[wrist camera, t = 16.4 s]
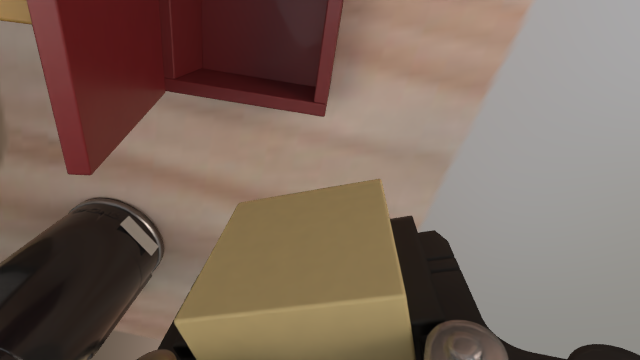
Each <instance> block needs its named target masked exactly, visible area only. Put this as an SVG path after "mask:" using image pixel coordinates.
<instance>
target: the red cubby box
mask: <svg viewBox="0 0 640 360" xmlns="http://www.w3.org/2000/svg"><path fill="white" fill-rule="evenodd" d="M342 7H343V0H159V12H160V26H161V39H162V53H163V67H164V81H165V91H169V92H175V93H181V94H188V95H194V96H200V97H206V98H212V99H218V100H224V101H230V102H237V103H243V104H249V105H255V106H261V107H267V108H273V109H279V110H285V111H292V112H298V113H304V114H310V115H316V116H322V117H324V116H325V111H326V106H327V101H328V95H329V89H330V82H331V76H332V70H333V63H334V57H335V51H336V45H337V38H338V32H339V26H340V19H341V13H342Z"/></svg>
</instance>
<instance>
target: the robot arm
mask: <svg viewBox="0 0 640 360" xmlns="http://www.w3.org/2000/svg"><path fill="white" fill-rule="evenodd" d="M390 222H391V227H392V232H393V236H394V241H395V246H396V250H397V255H398V260H399V264H400V269H401V274H402V278H403V283H404V288H405V292H406V297H407V304H408V310H409V317H410V323H411V329H412V336H413V342H414V348H415V355H416V360H640V355H637V354H635V353H633V352H631V351H628V350H625V349H623V348H619V347H615V346H611V345H604V344H592V345H586V346H582V347H580V348H578V349H576V350H574V351H573V352H572V353H571V354H570V356H569V358H568V359H562V358H557V357H552V356H547V355H542V354H537V353H532V352H528V351H524V350H521V349H518V348H516V347H514V346H511V345H510V344H508V343H506V342H505V341H503V340H501V339H500V338H499V337H497V336H496V335H495V334H494V333H493V332H492V331H491V330H490V329H489V328H488V327H487V325H486V324H485V322H484V321H483V319H482V317H481V314H480V312H479V310H478V308H477V306H476V303H475V301H474V299H473V297H472V294H471V292H470V290H469V288H468V285H467V283H466V281H465V279H464V277H463V274H462V272H461V270H460V268H459V265H458V263H457V261H456V259H455V258H454V254H453V252H452V250H451V247H450V245H449V243H448V241H447V240H446V239H445V238H443V237H442V236H441V235H440V234H438V233H437V232H436V231H427V232H420V233H418V232H417V229H416V226H415V223H414V220H413V217H412V216H406V217H400V218H393V219H390ZM163 252H164V247H163V241H162V238H161V236H160V234H159V232H158V230H157V229H156V227H155V226H154V224H153V223H152V222H151V221H150V220H149V219H148V218H147V217H146V216H145V215H143V214H142V213H141V212H139V211H138V210H136V209H135V208H133V207H131V206H129V205H127V204H125V203H122V202H119V201H116V200H111V199H102V198H98V199H90V200H87V201H84V202H82V203H80V204H79V205H77V206H76V207H75V208H73V209H72V210H71V211H70V212H69V213H68V214H67V215H66V216H64V217H63V218H62V219H60V220H59V221H57V222H56V223H55V224H53V225H52V226H51V227H49V228H48V229H46V230H45V231H43V232H42V233H41V234H39V235H38V236H37V237H35V238H34V239H32V240H31V241H30V242H28V243H27V244H26V245H24V246H23V247H22V248H20V249H19V250H17V251H16V252H15V253H13V254H12V255H11V256H9V257H8V258H6V259H5V260H4V261H2V262H1V263H0V360H89V359H91V358H92V357H93V356H94V355H95V354H96V353H97V351H98V350H99V348H100V347H101V346H102V344H103V343H104V341H105V340H106V339H107V337H108V336H109V335H110V333H111V332H112V331H113V329H114V328H115V326H116V325H117V324H118V322H119V321H120V320H121V318H122V317H123V315H124V314H125V313H126V311H127V310H128V309H129V307H130V306H131V304H132V303H133V302H134V300H135V299H136V298H137V296H138V295H139V293H140V292H141V291H142V289H143V288H144V287H145V285H146V284H147V282H148V281H149V280H150V278H151V277H152V272H153V271H154V270H155V269H156V267H157V266H158V264H159V263H160V261H161V260H162V257H163ZM198 276H199V275H198ZM197 278H198V277H197ZM196 280H197V279H196ZM195 282H196V281H195ZM195 282H194V283H195ZM193 285H194V284H193ZM192 287H193V286H192ZM191 289H192V288H191ZM188 294H189V293H188ZM187 296H188V295H187ZM186 298H187V297H186ZM185 300H186V299H185ZM184 302H185V301H184ZM182 305H183V304H182ZM181 307H182V306H181ZM180 309H181V308H180ZM179 311H180V310H179ZM179 311H178V312H179ZM177 314H178V313H177ZM176 316H177V315H176ZM175 318H176V317H175ZM174 320H175V319H174ZM174 320H173V322H172V324H171V326H170V328H169V330H168V331H167V333H166V335H165V337H164V339H163V340H162V342H161V344H160V346H159V348H158V350H155V351H152V352H149V353H147V354H145V355H143V356H141V357H140V358H138V359H137V360H196V358H195V356H194V355H193V353H192V352H191V350H190V348H189V347H188V345H187V343H186V342H185V340H184V339H183V337H182V335H181V334H180V332H179V330H178V329H177V327H176V326H175V324H174Z"/></svg>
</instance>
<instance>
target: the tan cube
mask: <svg viewBox="0 0 640 360" xmlns="http://www.w3.org/2000/svg"><path fill="white" fill-rule="evenodd" d="M174 324H175V326H176V327H177V329H178V330H179V332H180V334H181V335H182V337H183V339H184V340H185V342H186V343H187V345H188V347H189V348H190V350H191V352H192V353H193V355H194V356H195V358H196V360H416V355H415V348H414V342H413V336H412V329H411V323H410V317H409V310H408V304H407V297H406V292H405V288H404V283H403V278H402V274H401V269H400V264H399V260H398V255H397V250H396V246H395V241H394V236H393V232H392V227H391V222H390V218H389V213H388V208H387V204H386V199H385V194H384V190H383V185H382V181H381V179H375V180H369V181H363V182H358V183H352V184H346V185H340V186H334V187H328V188H323V189H317V190H311V191H305V192H299V193H294V194H288V195H282V196H276V197H270V198H265V199H259V200H253V201H247V202H241V203H239V204H238V205H237V207H236V209H235V211H234V213H233V215H232V216H231V218H230V220H229V222H228V224H227V225H226V227H225V229H224V231H223V233H222V234H221V236H220V238H219V240H218V242H217V244H216V245H215V247H214V249H213V251H212V253H211V254H210V256H209V258H208V260H207V262H206V263H205V265H204V267H203V269H202V271H201V273H200V274H199V276H198V278H197V280H196V282H195V283H194V285H193V287H192V289H191V291H190V292H189V294H188V296H187V298H186V300H185V302H184V303H183V305H182V307H181V309H180V311H179V312H178V314H177V316H176V318H175V320H174Z"/></svg>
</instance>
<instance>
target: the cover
mask: <svg viewBox="0 0 640 360" xmlns="http://www.w3.org/2000/svg"><path fill="white" fill-rule="evenodd" d="M0 20H1V21H9V22H16V23H24V24H32V26H33V30H34V34H35V38H36V43H37V47H38V51H39V55H40V59H41V64H42V68H43V72H44V76H45V80H46V85H47V89H48V93H49V97H50V101H51V106H52V110H53V114H54V118H55V122H56V127H57V131H58V135H59V139H60V143H61V148H62V152H63V156H64V160H65V164H66V169H67V173H68V174H75V175H92V174H93V173H94V171H95V170H96V169H97V168H98V167H99V166H100V165H101V164H102V162H103V161H104V160H105V159H106V158H107V157H108V156H109V155H110V154H111V152H112V151H113V150H114V149H115V148H116V147H117V146H118V145H119V144H120V142H121V141H122V140H123V139H124V138H125V137H126V136H127V135H128V134H129V132H130V131H131V130H132V129H133V128H134V127H135V126H136V125H137V124H138V122H139V121H140V120H141V119H142V118H143V117H144V116H145V115H146V113H147V112H148V111H149V110H150V109H151V108H152V107H153V106H154V105H155V103H156V102H157V101H158V100H159V99H160V98H161V97H162V96H163V95H164V93H165V81H164V67H163V53H162V39H161V26H160V12H159V0H0Z"/></svg>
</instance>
